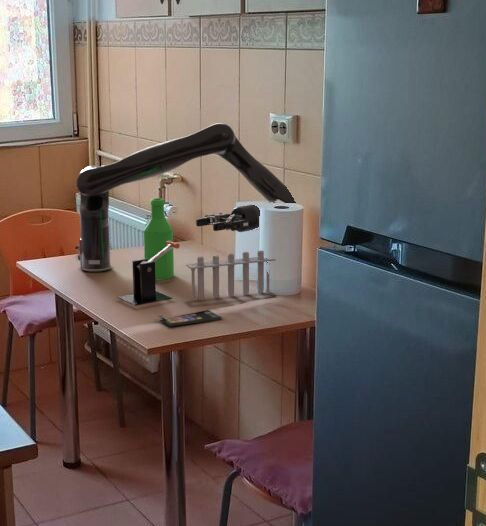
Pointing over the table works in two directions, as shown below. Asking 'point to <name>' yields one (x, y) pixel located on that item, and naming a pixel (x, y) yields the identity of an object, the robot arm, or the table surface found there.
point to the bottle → (159, 240)
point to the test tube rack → (229, 273)
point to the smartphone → (190, 318)
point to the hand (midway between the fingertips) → (205, 225)
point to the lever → (162, 252)
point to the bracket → (144, 284)
